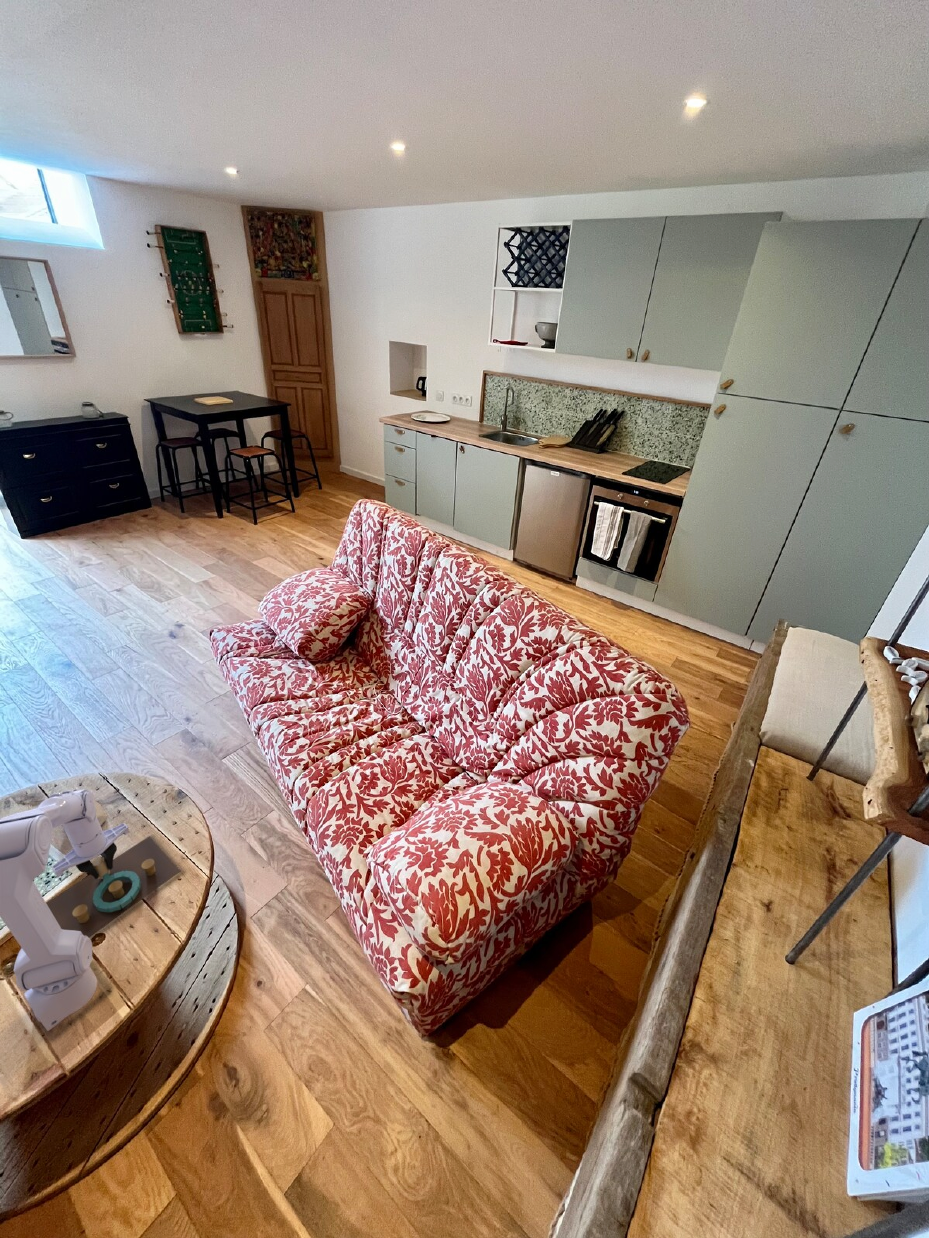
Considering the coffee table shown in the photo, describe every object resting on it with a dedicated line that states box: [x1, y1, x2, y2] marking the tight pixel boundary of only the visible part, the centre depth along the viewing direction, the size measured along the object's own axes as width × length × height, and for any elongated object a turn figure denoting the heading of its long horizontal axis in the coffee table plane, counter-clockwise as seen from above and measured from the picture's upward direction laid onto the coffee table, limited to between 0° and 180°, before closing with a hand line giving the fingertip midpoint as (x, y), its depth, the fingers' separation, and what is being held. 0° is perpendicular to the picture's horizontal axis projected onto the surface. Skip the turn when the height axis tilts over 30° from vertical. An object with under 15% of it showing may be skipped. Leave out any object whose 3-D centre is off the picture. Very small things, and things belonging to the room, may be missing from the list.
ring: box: [91, 855, 141, 912], centre depth 114 cm, size 9×13×5 cm
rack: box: [46, 836, 181, 939], centre depth 115 cm, size 23×15×4 cm, turn 144°
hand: (102, 870), depth 117 cm, fingers closed on ring, 2 cm apart
